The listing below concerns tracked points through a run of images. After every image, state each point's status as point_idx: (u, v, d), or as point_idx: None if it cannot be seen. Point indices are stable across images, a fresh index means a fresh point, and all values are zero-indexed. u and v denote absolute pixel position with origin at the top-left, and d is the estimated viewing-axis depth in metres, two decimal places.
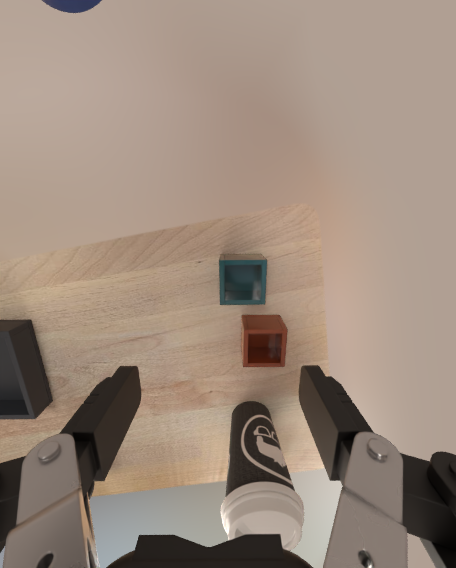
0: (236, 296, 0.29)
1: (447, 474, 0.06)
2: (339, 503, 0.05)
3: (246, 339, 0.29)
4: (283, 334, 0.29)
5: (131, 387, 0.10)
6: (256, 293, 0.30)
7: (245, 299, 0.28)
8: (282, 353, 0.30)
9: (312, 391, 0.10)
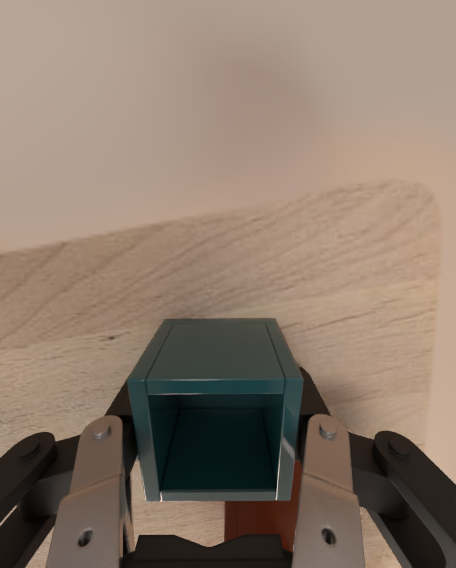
0: (204, 455, 0.10)
1: (386, 449, 0.07)
2: (301, 489, 0.05)
3: None
4: None
5: None
6: (261, 430, 0.11)
7: (227, 488, 0.09)
8: None
9: None
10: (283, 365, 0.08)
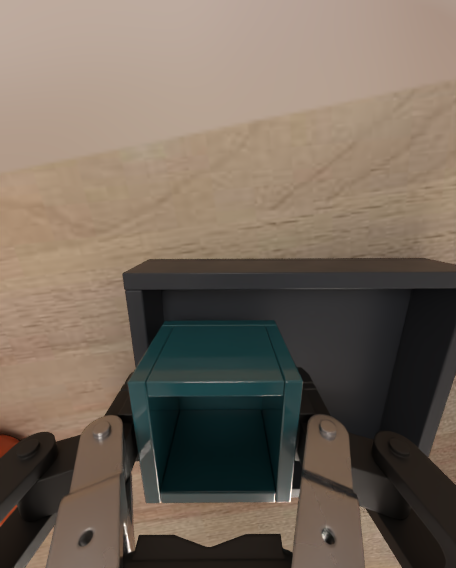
0: (204, 457, 0.10)
1: (386, 449, 0.07)
2: (301, 489, 0.05)
3: None
4: None
5: None
6: (261, 431, 0.11)
7: (227, 489, 0.09)
8: None
9: None
10: (283, 367, 0.08)
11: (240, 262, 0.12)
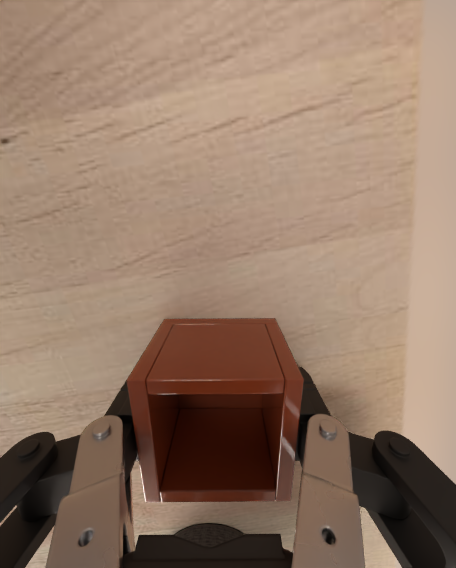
0: None
1: (386, 449, 0.07)
2: (301, 489, 0.05)
3: (142, 415, 0.08)
4: (288, 398, 0.07)
5: None
6: None
7: None
8: (283, 462, 0.08)
9: None
10: None
11: None
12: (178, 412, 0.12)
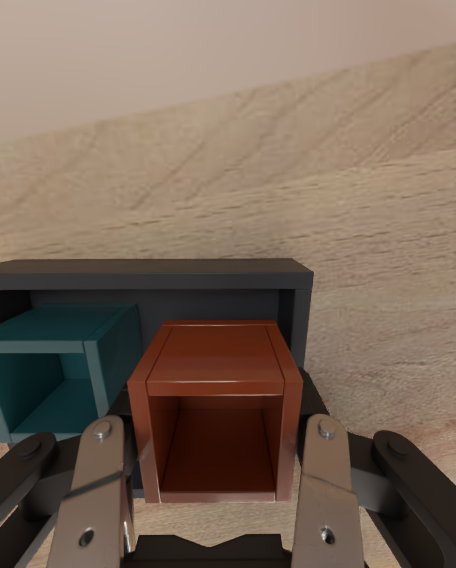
0: (61, 410, 0.12)
1: (385, 449, 0.07)
2: (300, 488, 0.05)
3: (143, 417, 0.08)
4: (288, 400, 0.07)
5: None
6: None
7: (64, 432, 0.11)
8: (282, 463, 0.08)
9: None
10: (93, 333, 0.10)
11: (95, 262, 0.12)
12: (178, 413, 0.12)
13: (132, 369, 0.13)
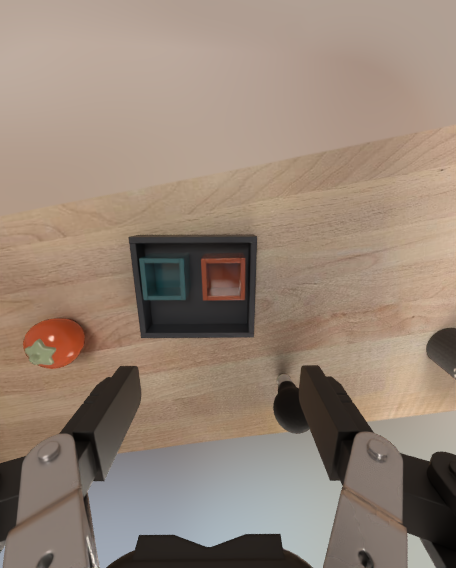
0: (162, 292, 0.31)
1: (447, 474, 0.06)
2: (339, 503, 0.05)
3: (204, 269, 0.29)
4: (241, 264, 0.29)
5: (131, 387, 0.10)
6: None
7: (167, 295, 0.30)
8: (241, 285, 0.30)
9: (312, 391, 0.10)
10: (180, 257, 0.29)
11: (174, 235, 0.32)
12: (209, 287, 0.33)
13: (188, 279, 0.32)
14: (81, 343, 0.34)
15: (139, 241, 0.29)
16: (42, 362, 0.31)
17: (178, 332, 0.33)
